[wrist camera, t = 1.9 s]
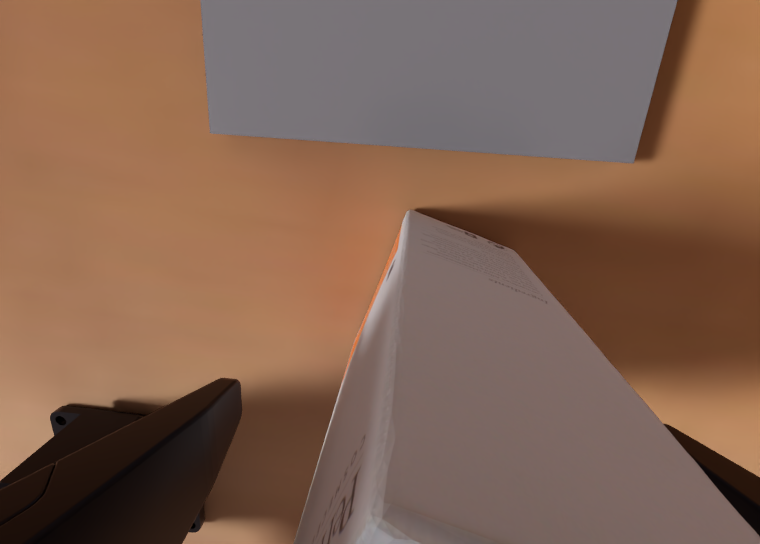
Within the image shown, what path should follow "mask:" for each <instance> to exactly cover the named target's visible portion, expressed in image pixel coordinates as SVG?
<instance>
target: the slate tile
mask: <svg viewBox="0 0 760 544" xmlns="http://www.w3.org/2000/svg"><path fill="white" fill-rule="evenodd" d="M676 4H677V0H201V14H202V28H203V42H204V56H205V69H206V83H207V97H208V111H209V125H210V133H213V134H227V135H241V136H255V137H270V138H284V139H298V140H312V141H326V142H340V143H354V144H368V145H382V146H396V147H410V148H424V149H438V150H452V151H466V152H480V153H494V154H509V155H523V156H537V157H551V158H565V159H579V160H593V161H607V162H621V163H634V160H635V156H636V152H637V149H638V145H639V141H640V137H641V134H642V130H643V126H644V123H645V119H646V115H647V111H648V108H649V104H650V100H651V97H652V93H653V89H654V85H655V82H656V78H657V74H658V71H659V67H660V63H661V60H662V56H663V52H664V48H665V45H666V41H667V37H668V34H669V30H670V26H671V22H672V19H673V15H674V11H675V8H676Z"/></svg>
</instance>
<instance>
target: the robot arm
mask: <svg viewBox="0 0 760 544" xmlns="http://www.w3.org/2000/svg"><path fill="white" fill-rule="evenodd" d="M241 415H242V400H241V385H240V382H239V381H238V380H237V379H230V378H220V379H218V380H216V381H214V382H212V383H210V384H208V385H206V386H204V387H202V388H200V389H198V390H196V391H194V392H192V393H190V394H188V395H186V396H184V397H182V398H180V399H178V400H176V401H174V402H172V403H170V404H168V405H166V406H164V407H163V408H161V409H159V410H157V411H155V412H153V413H151V414H149V415H144V414H135V413H126V412H117V411H108V410H99V409H90V408H81V407H72V406H62V407H60V408H58V409H57V410H56V411H54V412H53V413H52V414H51V416H50V420H51V424H52V428H53V432H54V437H53V438H51V439H50V440H49V441H48V442H47V443H45V444H44V445H43V446H42V447H41V448H39V449H38V450H37V451H36V452H35V453H33V454H32V455H31V456H30V457H28V458H27V459H26V460H25V461H24V462H22V463H21V464H20V465H19V466H18V467H16V468H15V469H14V470H13V471H12V472H10V473H9V474H8V475H7V476H6V477H4V478H3V479H2V480H1V481H0V544H182V543H183V541H184V539H185V538H186V536H187V534H188V532H197V531H199V530H200V528H201V527H202V525H203V523H204V520H205V517H204V508H203V504H204V502H205V500H206V498H207V496H208V494H209V492H210V491H211V489H212V487H213V485H214V482H215V480H216V478H217V476H218V473H219V471H220V468H221V466H222V463H223V461H224V459H225V456H226V454H227V451H228V449H229V446H230V444H231V441H232V439H233V436H234V434H235V432H236V429H237V427H238V424H239V422H240V419H241ZM664 426H665V427H666V428H667V429H668V430H669V431H670V433H671V434H672V435H673V436H674V437H675V439H676V440H677V441H678V442H679V443H680V445H681V446H682V447H683V448H684V449H685V450H686V452H687V453H688V454H689V455H690V456H691V457H692V458H693V459H694V460H695V462H696V463H697V464H698V465H699V466H700V468H701V469H702V470H703V471H704V473H705V474H706V475H707V476H708V478H709V479H710V480H711V481H712V482H713V484H714V485H715V486H716V487H717V489H718V490H719V491H720V492H721V493H722V494H723V496H724V497H725V498H726V499H727V500H728V501H729V502H730V504H731V505H732V506H733V507H734V508H735V509H736V511H737V512H738V513H739V514H740V515H741V516H742V517H743V519H744V520H745V521H746V522H747V523H748V524H749V525H750V526H751V527H752V528H753V529H754V530H755V532H756V533H757V534H758V535H759V536H760V477H758V476H756V475H755V474H753V473H751V472H749V471H748V470H746V469H744V468H743V467H741V466H739V465H737V464H736V463H734V462H732V461H730V460H729V459H727V458H725V457H724V456H722V455H720V454H718V453H717V452H715V451H713V450H711V449H710V448H708V447H706V446H705V445H703V444H701V443H699V442H698V441H696V440H694V439H692V438H691V437H689V436H687V435H686V434H684V433H682V432H680V431H679V430H677V429H675V428H673V427H672V426H670V425H667V424H664Z"/></svg>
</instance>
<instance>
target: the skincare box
mask: <svg viewBox="0 0 760 544" xmlns="http://www.w3.org/2000/svg"><path fill="white" fill-rule="evenodd" d="M294 544H760V536H759V535H758V534H757V533H756V532H755V530H754V529H753V528H752V527H751V526H750V525H749V524H748V523H747V522H746V521H745V520H744V519H743V517H742V516H741V515H740V514H739V513H738V512H737V511H736V509H735V508H734V507H733V506H732V505H731V504H730V502H729V501H728V500H727V499H726V498H725V497H724V496H723V494H722V493H721V492H720V491H719V490H718V489H717V487H716V486H715V485H714V484H713V482H712V481H711V480H710V479H709V478H708V476H707V475H706V474H705V473H704V471H703V470H702V469H701V468H700V466H699V465H698V464H697V463H696V462H695V460H694V459H693V458H692V457H691V456H690V455H689V454H688V453H687V452H686V450H685V449H684V448H683V447H682V446H681V445H680V443H679V442H678V441H677V440H676V439H675V437H674V436H673V435H672V434H671V433H670V431H669V430H668V429H667V428H666V427H665V426H664V424H663V423H662V422H661V421H660V420H659V418H658V417H657V416H656V415H655V414H654V412H653V411H652V410H651V409H650V408H649V407H648V405H647V404H646V403H645V402H644V401H643V400H642V398H641V397H640V396H639V395H638V394H637V393H636V392H635V390H634V389H633V388H632V387H631V386H630V385H629V384H628V382H627V381H626V380H625V379H624V378H623V376H622V375H621V374H620V373H619V371H618V370H617V369H616V368H615V367H614V366H613V365H612V364H611V363H610V362H609V360H608V359H607V358H606V357H605V356H604V354H603V353H602V352H601V351H600V349H599V348H598V347H597V346H596V345H595V344H594V342H593V341H592V340H591V339H590V337H589V336H588V335H587V334H586V333H585V332H584V330H583V329H582V328H581V327H580V326H579V325H578V324H577V322H576V321H575V320H574V319H573V318H572V317H571V315H570V314H569V313H568V312H567V311H566V310H565V308H564V307H563V306H562V305H561V304H560V303H559V302H558V301H557V299H556V298H555V297H554V296H553V295H552V294H551V293H550V291H549V290H548V289H547V288H546V287H545V285H544V284H543V283H542V282H541V281H540V279H539V278H538V277H537V276H536V275H535V274H534V273H533V271H532V270H531V269H530V268H529V267H528V265H527V264H526V263H525V262H524V261H523V260H522V258H521V257H520V256H519V255H518V254H517V253H516V252H515V251H514V250H512V249H510V248H507V247H505V246H502V245H500V244H497V243H495V242H492V241H490V240H487V239H485V238H483V237H480V236H478V235H475V234H473V233H470V232H468V231H465V230H462V229H460V228H457V227H454V226H452V225H449V224H446V223H444V222H441V221H439V220H436V219H434V218H431V217H429V216H426V215H423V214H421V213H419V212H416V211H414V210H408V211H407V212H406V215H405V217H404V220H403V223H402V225H401V228H400V231H399V233H398V236H397V239H396V241H395V244H394V246H393V249H392V251H391V254H390V256H389V259H388V261H387V264H386V266H385V269H384V271H383V274H382V276H381V279H380V281H379V284H378V286H377V289H376V291H375V294H374V296H373V299H372V301H371V304H370V306H369V309H368V311H367V313H366V316H365V318H364V320H363V323H362V325H361V327H360V329H359V332H358V334H357V336H356V339H355V341H354V344H353V347H352V351H351V354H350V357H349V360H348V363H347V367H346V370H345V374H344V377H343V380H342V383H341V387H340V390H339V394H338V397H337V400H336V404H335V407H334V410H333V413H332V417H331V420H330V423H329V427H328V430H327V433H326V437H325V440H324V443H323V447H322V450H321V453H320V457H319V460H318V463H317V467H316V470H315V473H314V477H313V480H312V483H311V487H310V490H309V493H308V497H307V500H306V503H305V507H304V510H303V513H302V517H301V520H300V523H299V527H298V530H297V533H296V537H295V540H294Z"/></svg>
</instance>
